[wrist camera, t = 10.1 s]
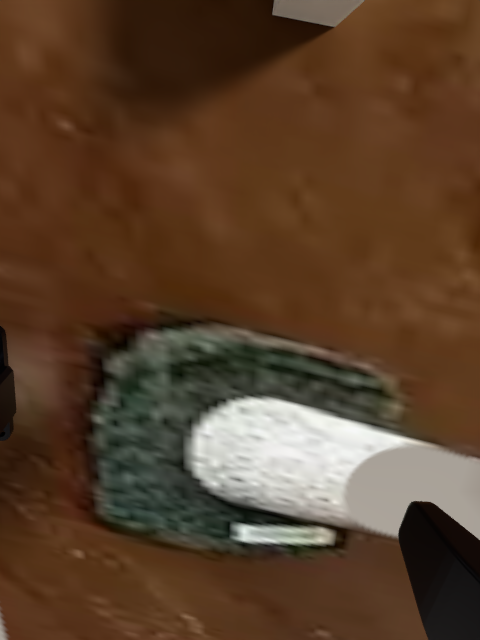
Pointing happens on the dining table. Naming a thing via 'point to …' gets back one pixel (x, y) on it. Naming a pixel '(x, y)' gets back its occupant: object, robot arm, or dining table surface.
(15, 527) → the dining table surface
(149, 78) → the dining table surface
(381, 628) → the dining table surface
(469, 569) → the robot arm
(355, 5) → the square loop paddle
